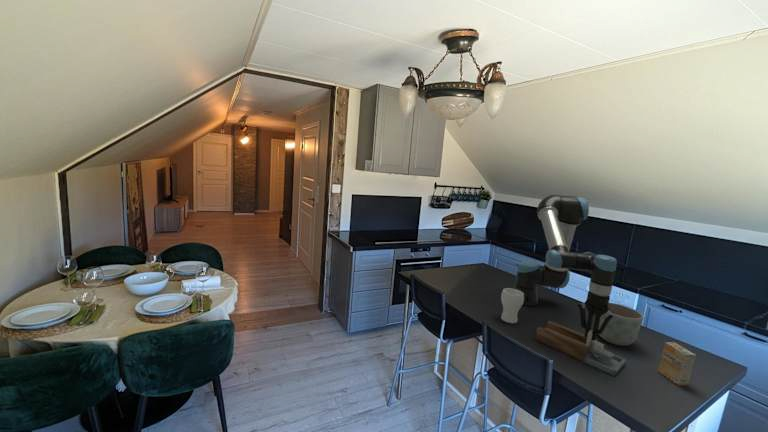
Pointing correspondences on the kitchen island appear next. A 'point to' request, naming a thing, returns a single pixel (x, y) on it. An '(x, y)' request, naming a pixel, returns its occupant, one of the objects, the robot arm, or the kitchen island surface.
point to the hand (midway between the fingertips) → (588, 345)
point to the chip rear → (595, 347)
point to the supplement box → (676, 363)
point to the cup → (511, 304)
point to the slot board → (563, 340)
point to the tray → (610, 369)
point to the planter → (621, 325)
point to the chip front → (606, 357)
